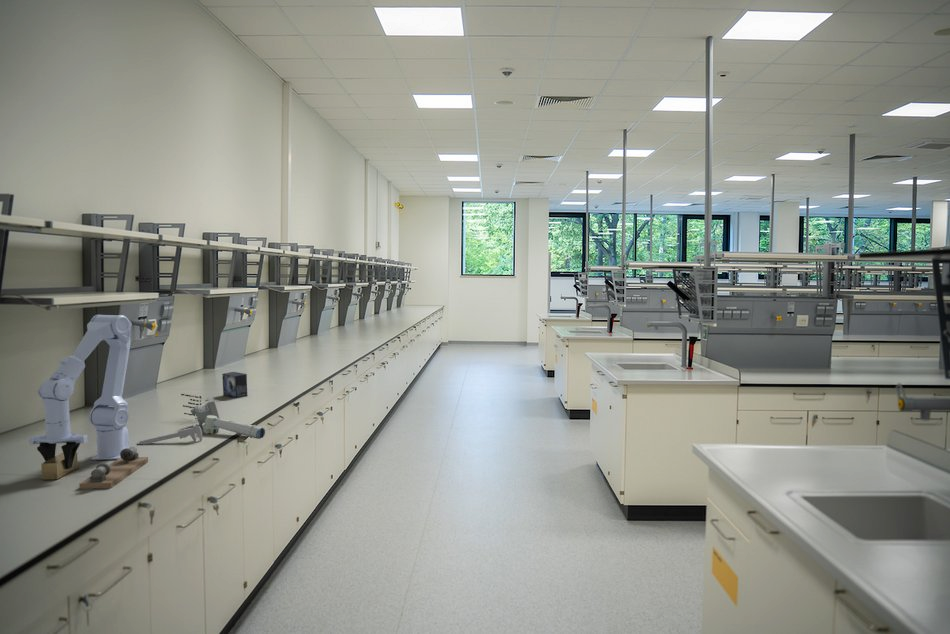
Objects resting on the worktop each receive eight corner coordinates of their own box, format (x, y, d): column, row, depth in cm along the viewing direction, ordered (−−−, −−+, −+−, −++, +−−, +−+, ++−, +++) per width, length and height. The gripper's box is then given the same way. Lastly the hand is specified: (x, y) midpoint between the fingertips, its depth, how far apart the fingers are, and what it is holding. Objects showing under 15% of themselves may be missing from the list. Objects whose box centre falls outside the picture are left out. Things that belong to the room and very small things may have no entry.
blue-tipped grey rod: (256, 429, 205) (199, 413, 213) (255, 448, 206) (198, 431, 214) (267, 425, 210) (210, 410, 218) (265, 444, 211) (209, 428, 219)
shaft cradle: (120, 462, 181) (119, 444, 181) (148, 461, 182) (147, 443, 182) (79, 489, 160) (78, 468, 159) (111, 488, 160) (110, 467, 160)
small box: (222, 395, 279) (221, 373, 278) (234, 393, 284) (234, 371, 283) (235, 398, 273) (234, 375, 272) (248, 396, 278) (247, 373, 277)
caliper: (202, 441, 206) (201, 423, 205) (201, 442, 204) (201, 423, 204) (136, 444, 201) (136, 426, 201) (135, 445, 200) (135, 427, 200)
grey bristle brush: (233, 424, 227) (232, 398, 227) (206, 431, 217) (205, 404, 217) (189, 415, 241) (188, 391, 240) (161, 422, 231) (160, 396, 230)
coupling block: (63, 467, 176) (62, 452, 176) (77, 467, 177) (77, 452, 176) (42, 479, 166) (41, 463, 166) (57, 479, 167) (56, 463, 166)
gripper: (21, 425, 166) (24, 473, 167) (76, 424, 167) (79, 472, 168) (37, 419, 173) (39, 465, 174) (90, 417, 174) (93, 463, 175)
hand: (60, 468), depth 171 cm, fingers closed on coupling block, 4 cm apart
